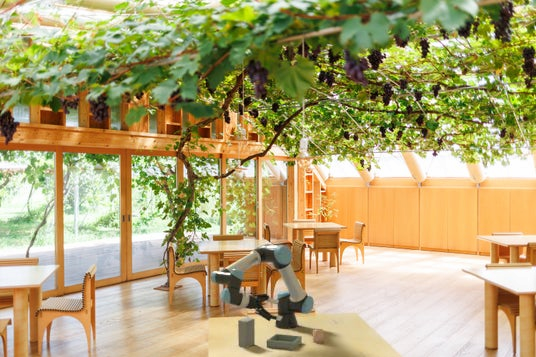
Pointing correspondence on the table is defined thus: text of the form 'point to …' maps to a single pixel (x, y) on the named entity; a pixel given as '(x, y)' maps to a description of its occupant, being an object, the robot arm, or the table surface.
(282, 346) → the bin
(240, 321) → the skincare box
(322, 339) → the peach rounded cylinder
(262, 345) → the table surface
